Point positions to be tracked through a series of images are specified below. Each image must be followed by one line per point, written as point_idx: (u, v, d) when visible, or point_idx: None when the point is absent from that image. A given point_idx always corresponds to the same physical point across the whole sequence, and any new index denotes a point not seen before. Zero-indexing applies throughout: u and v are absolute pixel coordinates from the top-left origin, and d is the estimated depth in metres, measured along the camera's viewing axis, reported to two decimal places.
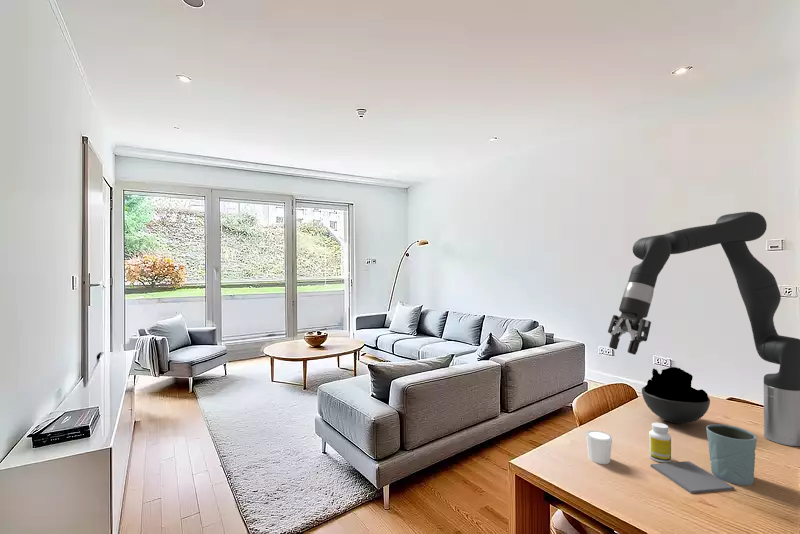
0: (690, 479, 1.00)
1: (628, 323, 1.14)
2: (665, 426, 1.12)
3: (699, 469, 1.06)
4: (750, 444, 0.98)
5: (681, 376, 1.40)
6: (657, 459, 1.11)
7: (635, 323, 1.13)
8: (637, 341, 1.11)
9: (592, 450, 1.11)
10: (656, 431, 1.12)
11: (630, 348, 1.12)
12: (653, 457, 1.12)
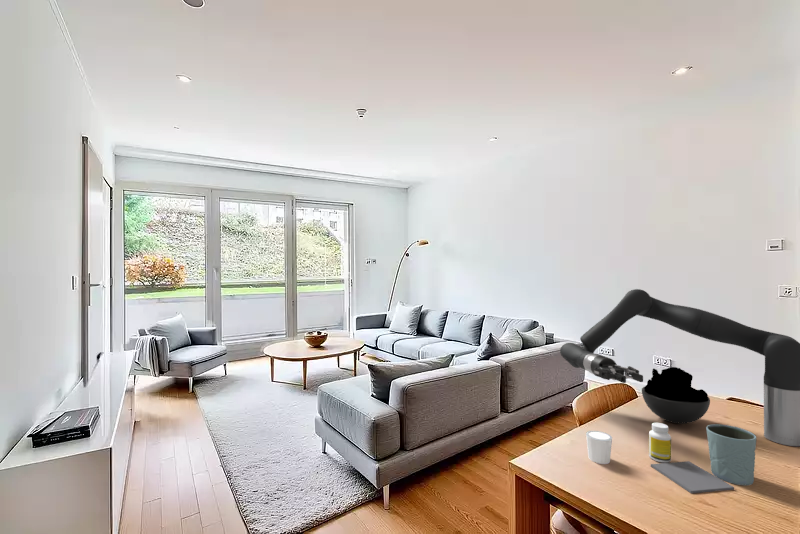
0: (690, 479, 1.00)
1: None
2: (665, 426, 1.12)
3: (699, 469, 1.06)
4: (750, 444, 0.98)
5: (681, 376, 1.40)
6: (657, 459, 1.11)
7: (604, 374, 1.32)
8: (614, 377, 1.26)
9: (592, 450, 1.11)
10: (656, 431, 1.12)
11: (621, 381, 1.24)
12: (653, 457, 1.12)
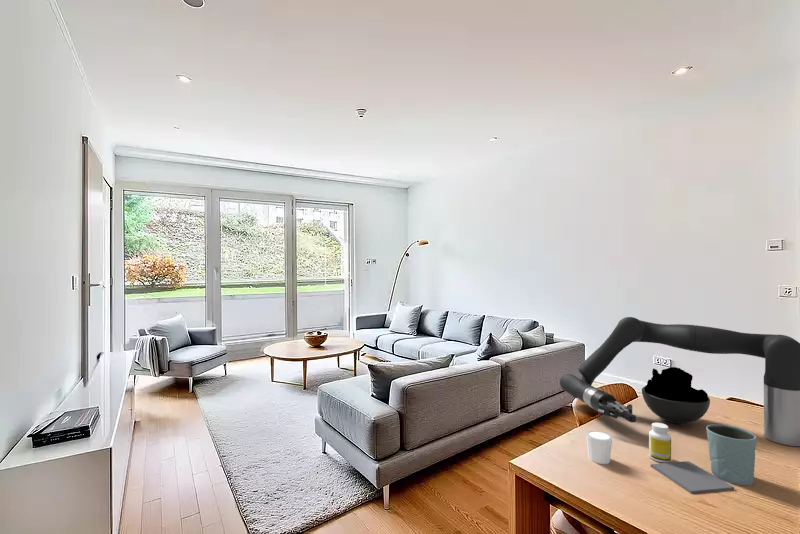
0: (690, 479, 1.00)
1: (610, 414, 1.31)
2: (665, 426, 1.12)
3: (699, 469, 1.06)
4: (750, 444, 0.98)
5: (681, 376, 1.40)
6: (657, 459, 1.11)
7: None
8: (623, 415, 1.26)
9: (592, 450, 1.11)
10: (656, 431, 1.12)
11: (629, 420, 1.24)
12: (653, 457, 1.12)
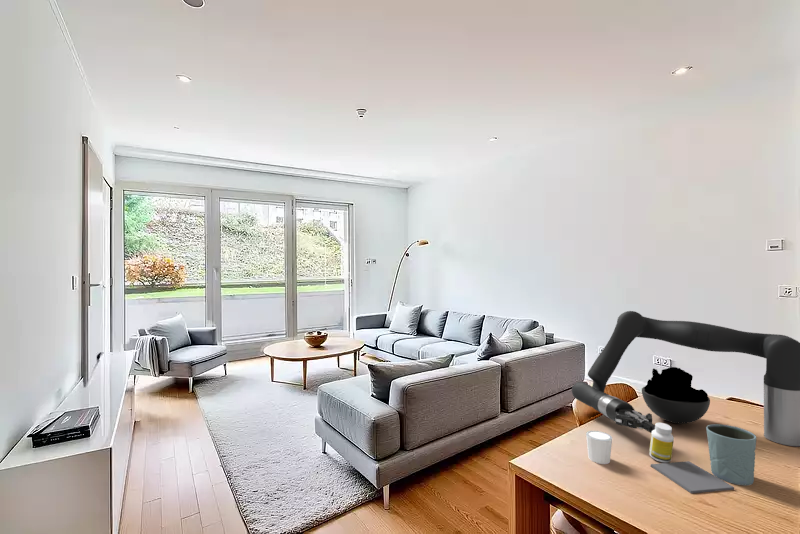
0: (690, 479, 1.00)
1: (628, 424, 1.23)
2: (669, 427, 1.10)
3: (699, 469, 1.06)
4: (750, 444, 0.98)
5: (681, 376, 1.40)
6: (657, 459, 1.11)
7: None
8: (643, 426, 1.18)
9: (592, 450, 1.11)
10: (659, 432, 1.10)
11: (649, 431, 1.15)
12: (653, 456, 1.11)
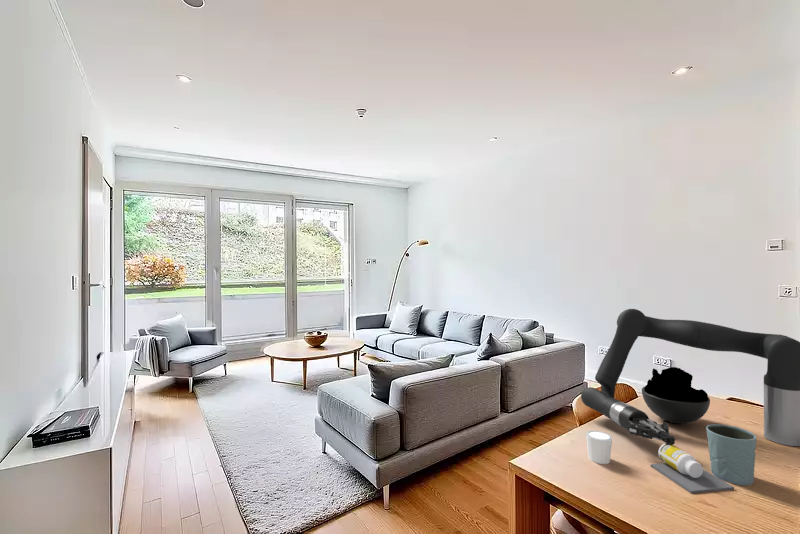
0: (690, 479, 1.00)
1: (643, 434, 1.17)
2: (699, 473, 1.00)
3: None
4: (750, 444, 0.98)
5: (681, 376, 1.40)
6: (662, 460, 1.09)
7: None
8: (659, 436, 1.11)
9: (592, 450, 1.11)
10: (685, 471, 1.01)
11: (666, 442, 1.09)
12: (660, 457, 1.08)
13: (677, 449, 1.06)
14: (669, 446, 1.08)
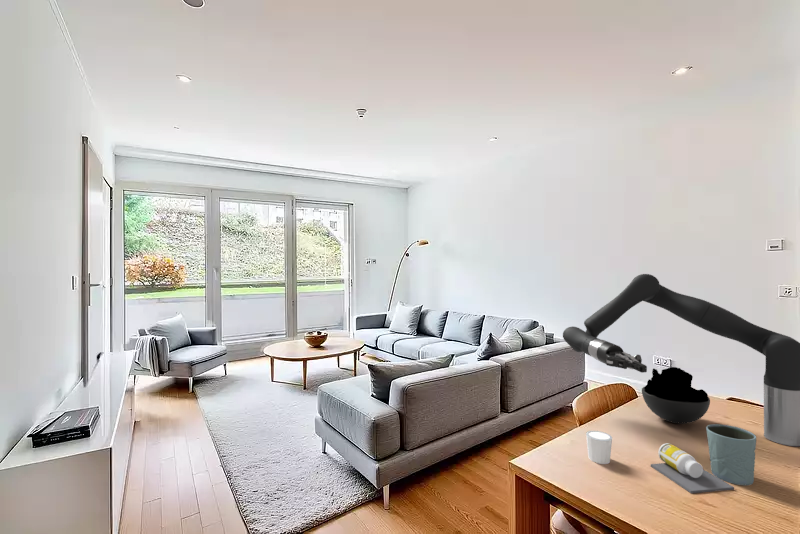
0: (690, 479, 1.00)
1: (618, 365, 1.28)
2: (699, 473, 1.00)
3: None
4: (750, 444, 0.98)
5: (681, 376, 1.40)
6: (662, 460, 1.09)
7: None
8: (633, 366, 1.22)
9: (592, 450, 1.11)
10: (685, 471, 1.01)
11: (639, 370, 1.20)
12: (660, 457, 1.08)
13: (677, 449, 1.06)
14: (669, 446, 1.08)
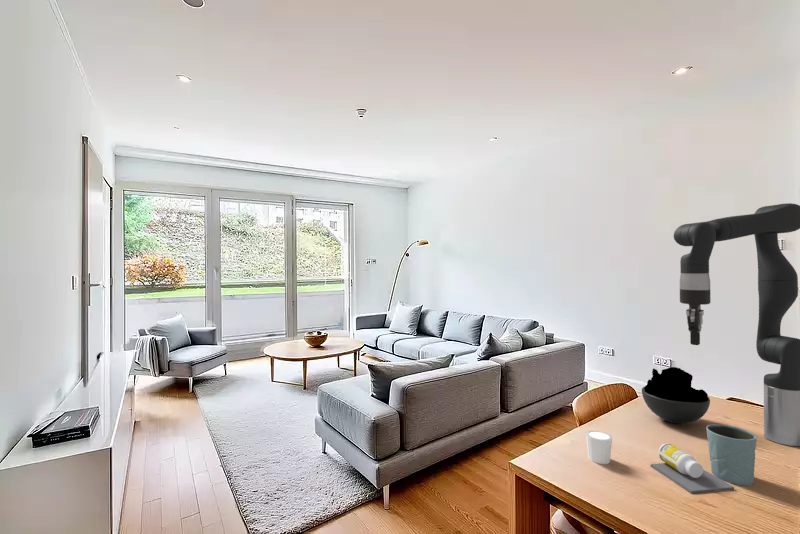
0: (690, 479, 1.00)
1: (687, 314, 1.19)
2: (699, 473, 1.00)
3: None
4: (750, 444, 0.98)
5: (681, 376, 1.40)
6: (662, 460, 1.09)
7: None
8: None
9: (592, 450, 1.11)
10: (685, 471, 1.01)
11: (691, 340, 1.19)
12: (660, 457, 1.08)
13: (677, 449, 1.06)
14: (669, 446, 1.08)
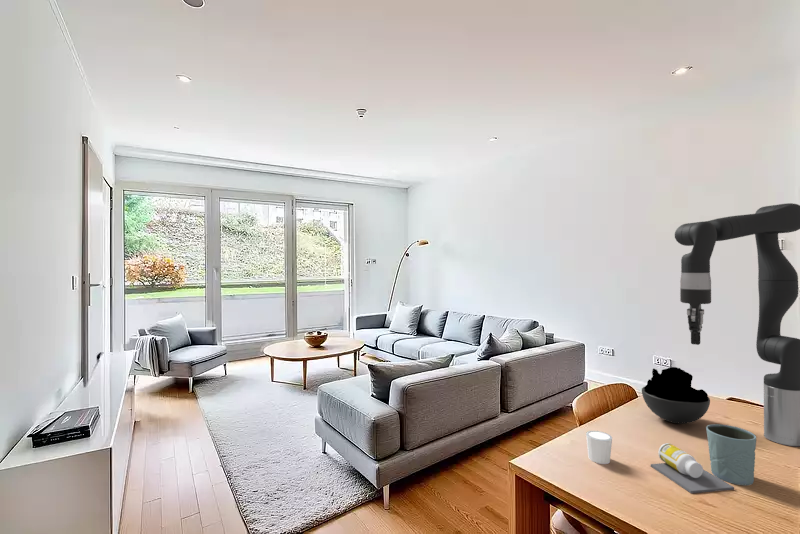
0: (690, 479, 1.00)
1: None
2: (699, 473, 1.00)
3: None
4: (750, 444, 0.98)
5: (681, 376, 1.40)
6: (662, 460, 1.09)
7: None
8: None
9: (592, 450, 1.11)
10: (685, 471, 1.01)
11: (691, 339, 1.19)
12: (660, 457, 1.08)
13: (677, 449, 1.06)
14: (669, 446, 1.08)
